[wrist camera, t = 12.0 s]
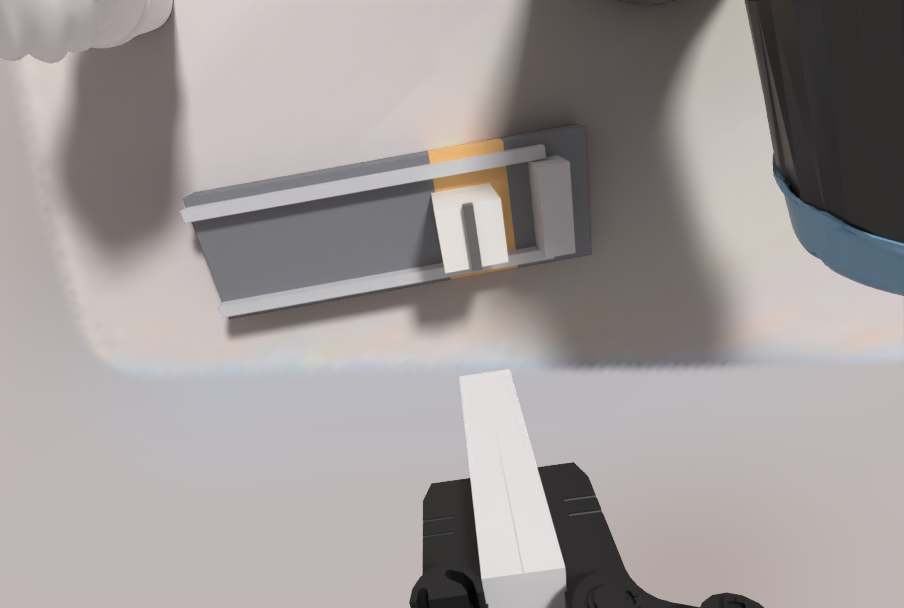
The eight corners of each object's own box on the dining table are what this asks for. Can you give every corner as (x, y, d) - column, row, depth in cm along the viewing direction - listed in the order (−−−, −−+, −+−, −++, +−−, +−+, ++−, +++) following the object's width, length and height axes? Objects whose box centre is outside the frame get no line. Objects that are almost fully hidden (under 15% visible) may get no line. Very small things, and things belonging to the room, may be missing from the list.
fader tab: (430, 192, 34) (433, 211, 29) (489, 182, 34) (501, 199, 29) (441, 249, 36) (445, 276, 31) (496, 239, 36) (509, 264, 31)
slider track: (194, 192, 35) (162, 209, 31) (576, 124, 35) (600, 130, 31) (237, 307, 39) (214, 338, 34) (583, 246, 39) (605, 268, 34)
